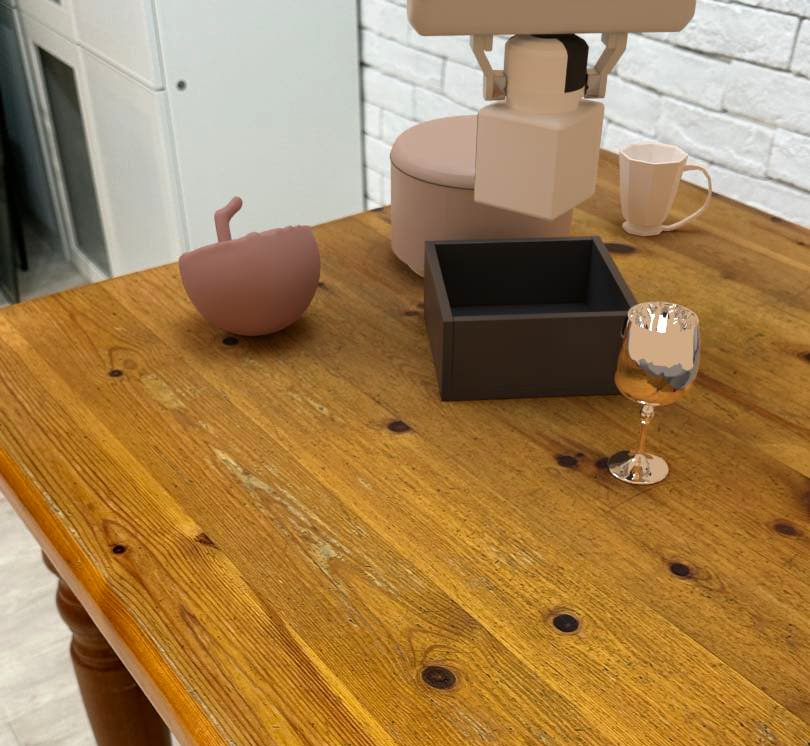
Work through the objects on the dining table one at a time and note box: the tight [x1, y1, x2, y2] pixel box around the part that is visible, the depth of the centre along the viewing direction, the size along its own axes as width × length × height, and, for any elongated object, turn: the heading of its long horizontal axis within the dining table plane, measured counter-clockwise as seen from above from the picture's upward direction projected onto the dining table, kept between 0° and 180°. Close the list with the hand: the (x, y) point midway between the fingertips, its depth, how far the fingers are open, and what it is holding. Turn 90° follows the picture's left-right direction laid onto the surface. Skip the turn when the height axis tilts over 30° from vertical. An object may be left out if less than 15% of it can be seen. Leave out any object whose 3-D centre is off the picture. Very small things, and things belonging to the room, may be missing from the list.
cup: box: [618, 141, 713, 237], centre depth 110 cm, size 7×10×8 cm
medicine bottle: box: [474, 34, 606, 221], centre depth 79 cm, size 7×7×12 cm
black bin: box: [423, 235, 639, 402], centre depth 88 cm, size 16×16×7 cm
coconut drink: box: [178, 195, 321, 337], centre depth 90 cm, size 12×12×12 cm
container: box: [389, 114, 574, 278], centre depth 102 cm, size 18×18×12 cm
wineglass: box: [606, 301, 701, 486], centre depth 73 cm, size 6×6×12 cm
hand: (542, 97), depth 77 cm, fingers closed on medicine bottle, 6 cm apart
